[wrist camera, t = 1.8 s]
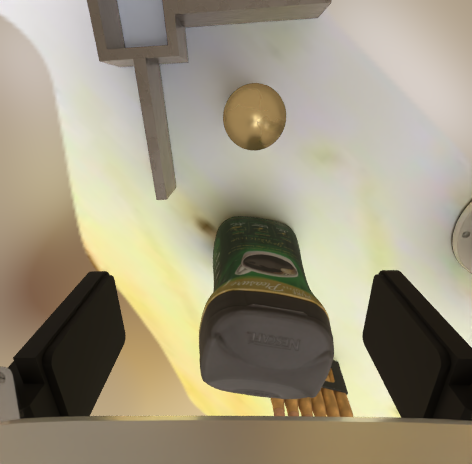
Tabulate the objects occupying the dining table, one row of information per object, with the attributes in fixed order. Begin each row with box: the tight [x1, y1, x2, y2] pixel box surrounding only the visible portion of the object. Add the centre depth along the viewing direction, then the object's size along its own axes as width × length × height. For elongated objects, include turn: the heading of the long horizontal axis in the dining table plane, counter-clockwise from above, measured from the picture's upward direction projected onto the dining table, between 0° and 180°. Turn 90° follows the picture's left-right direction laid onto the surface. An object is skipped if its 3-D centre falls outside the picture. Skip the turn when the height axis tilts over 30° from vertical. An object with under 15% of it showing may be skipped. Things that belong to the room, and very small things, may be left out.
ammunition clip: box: [271, 361, 353, 417], centre depth 38 cm, size 11×2×12 cm, turn 73°
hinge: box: [87, 0, 331, 200], centre depth 27 cm, size 19×19×4 cm
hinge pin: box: [223, 83, 286, 150], centre depth 25 cm, size 4×4×12 cm
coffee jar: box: [199, 216, 334, 399], centre depth 28 cm, size 10×8×19 cm
